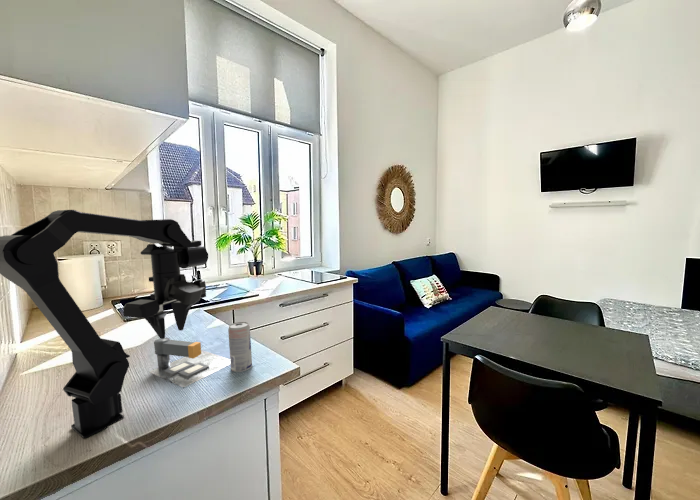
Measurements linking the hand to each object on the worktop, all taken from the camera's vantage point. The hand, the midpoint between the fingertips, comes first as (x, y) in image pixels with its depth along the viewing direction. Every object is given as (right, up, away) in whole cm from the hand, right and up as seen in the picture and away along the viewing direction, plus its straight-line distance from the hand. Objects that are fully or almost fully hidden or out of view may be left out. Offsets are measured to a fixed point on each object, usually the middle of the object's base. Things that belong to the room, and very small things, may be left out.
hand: (172, 334), depth 75 cm
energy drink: (+15, -11, +7) cm, 20 cm away
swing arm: (-2, -7, +6) cm, 9 cm away
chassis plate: (+1, -11, +8) cm, 14 cm away
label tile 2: (-2, -11, +6) cm, 13 cm away
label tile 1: (+3, -11, +5) cm, 12 cm away
